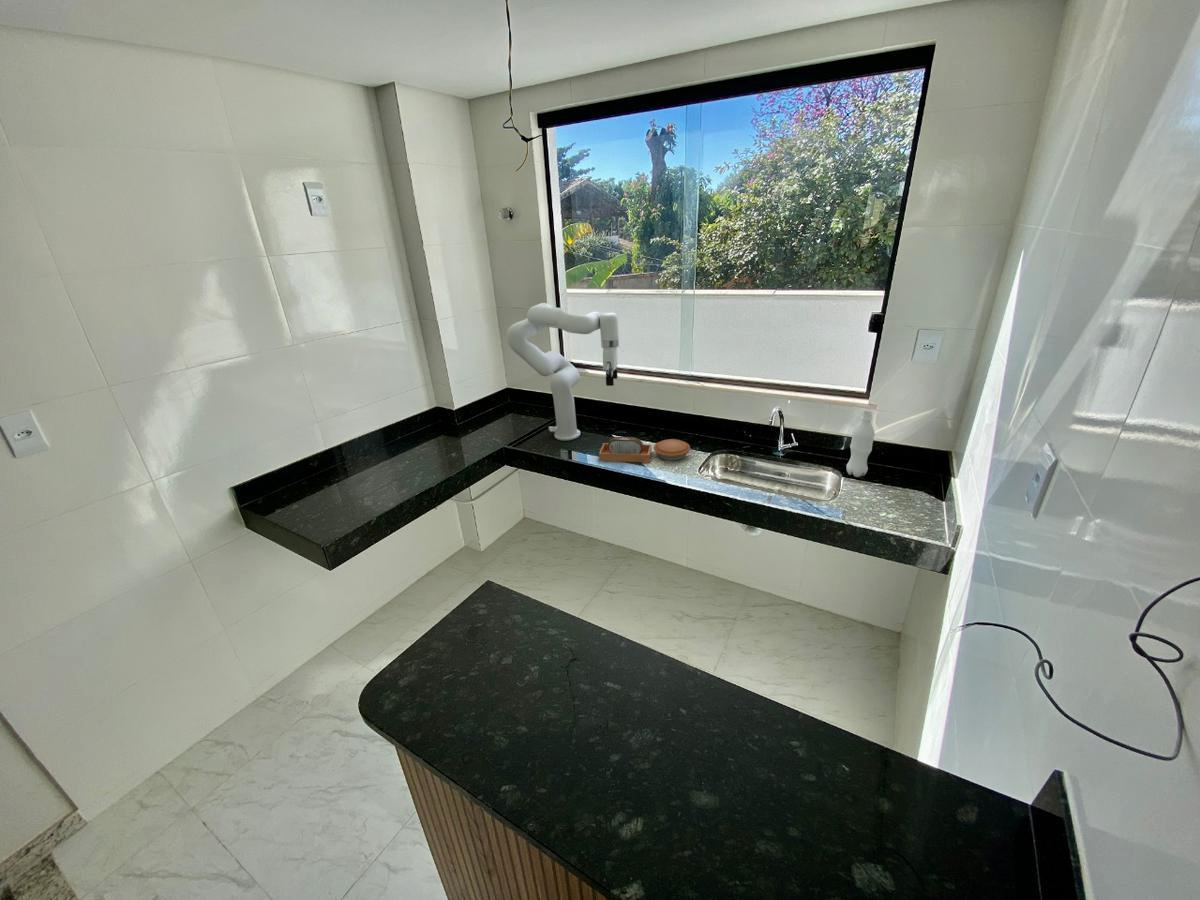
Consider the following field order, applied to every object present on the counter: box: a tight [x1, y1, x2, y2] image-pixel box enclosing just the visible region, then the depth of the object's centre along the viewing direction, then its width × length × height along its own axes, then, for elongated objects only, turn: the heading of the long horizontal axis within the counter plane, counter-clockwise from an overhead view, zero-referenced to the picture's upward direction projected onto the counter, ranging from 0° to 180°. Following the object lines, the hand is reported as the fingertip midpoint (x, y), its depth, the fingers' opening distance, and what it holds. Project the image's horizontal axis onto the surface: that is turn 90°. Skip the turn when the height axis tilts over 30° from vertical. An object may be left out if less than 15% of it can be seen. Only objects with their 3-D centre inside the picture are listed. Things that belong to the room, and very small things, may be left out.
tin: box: [608, 436, 643, 454], centre depth 206 cm, size 15×3×8 cm, turn 78°
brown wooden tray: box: [598, 442, 653, 464], centre depth 208 cm, size 21×10×4 cm, turn 78°
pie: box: [653, 438, 691, 461], centre depth 206 cm, size 15×16×5 cm
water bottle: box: [845, 410, 876, 478], centre depth 178 cm, size 7×7×25 cm
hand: (611, 381), depth 212 cm, fingers open, 9 cm apart
